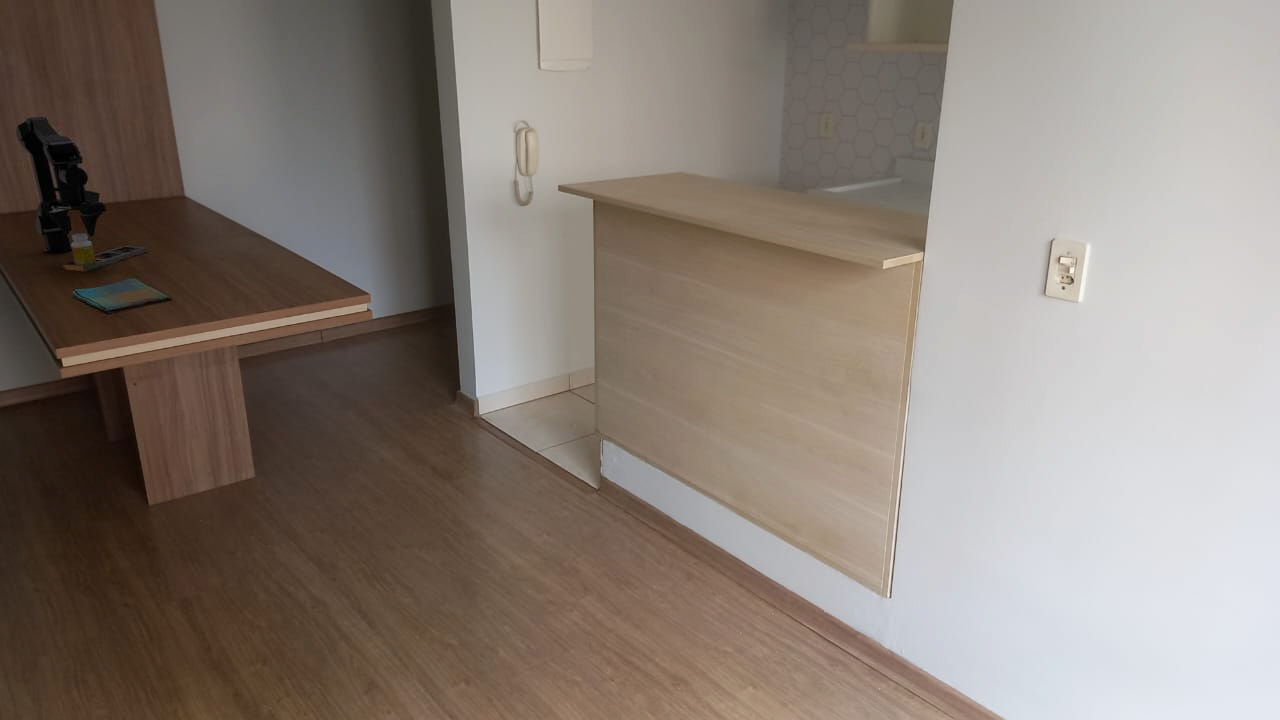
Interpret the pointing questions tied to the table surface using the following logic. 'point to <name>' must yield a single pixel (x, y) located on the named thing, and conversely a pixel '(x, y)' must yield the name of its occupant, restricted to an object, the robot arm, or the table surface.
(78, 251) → the supplement bottle
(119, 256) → the divided tray
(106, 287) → the dish towel
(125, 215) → the table surface
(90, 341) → the table surface
